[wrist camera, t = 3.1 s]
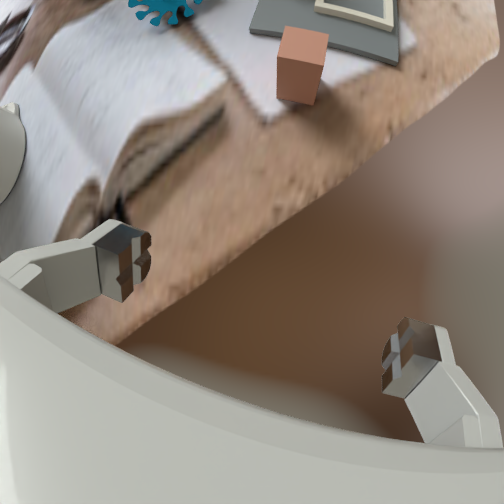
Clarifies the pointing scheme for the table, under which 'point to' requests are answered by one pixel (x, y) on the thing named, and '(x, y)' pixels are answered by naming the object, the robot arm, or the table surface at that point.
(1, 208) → the table surface
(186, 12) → the gear
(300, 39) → the pillar block
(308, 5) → the base plate
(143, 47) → the table surface
